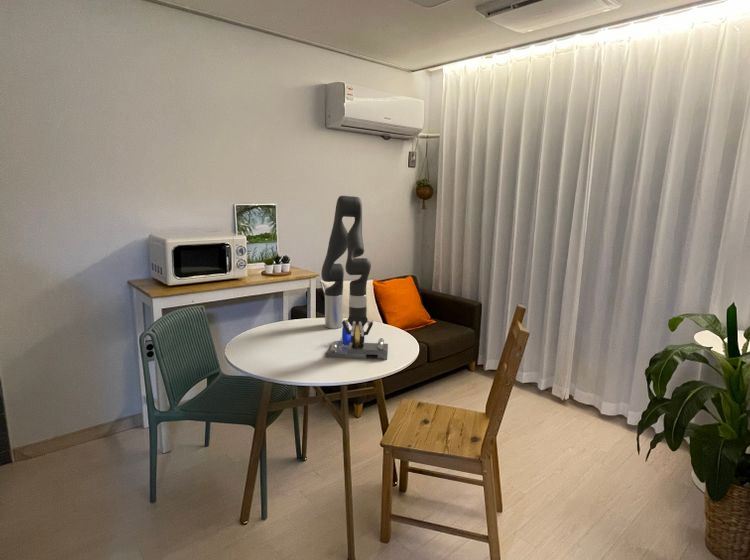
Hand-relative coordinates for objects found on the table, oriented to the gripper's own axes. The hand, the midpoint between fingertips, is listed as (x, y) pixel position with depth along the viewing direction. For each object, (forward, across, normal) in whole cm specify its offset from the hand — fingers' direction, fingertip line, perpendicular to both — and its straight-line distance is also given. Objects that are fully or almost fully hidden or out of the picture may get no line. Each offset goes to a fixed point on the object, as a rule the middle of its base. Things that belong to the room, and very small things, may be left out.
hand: (357, 343), depth 190 cm
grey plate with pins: (+5, 0, 0) cm, 5 cm away
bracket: (+6, +4, -21) cm, 22 cm away
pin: (+3, 0, 0) cm, 3 cm away
